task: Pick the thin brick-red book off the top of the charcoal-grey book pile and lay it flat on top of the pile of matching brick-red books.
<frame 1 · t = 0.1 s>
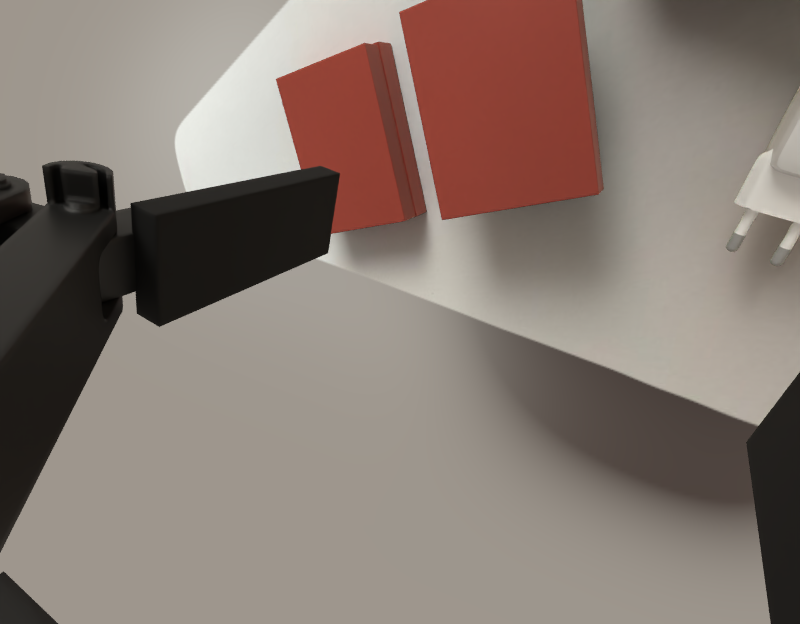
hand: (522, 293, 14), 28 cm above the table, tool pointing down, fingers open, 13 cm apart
red books: (364, 143, 46), on the table
thin red book: (505, 100, 34), point 5 cm above the table, touching grey books
power adapter: (793, 162, 32), on the table
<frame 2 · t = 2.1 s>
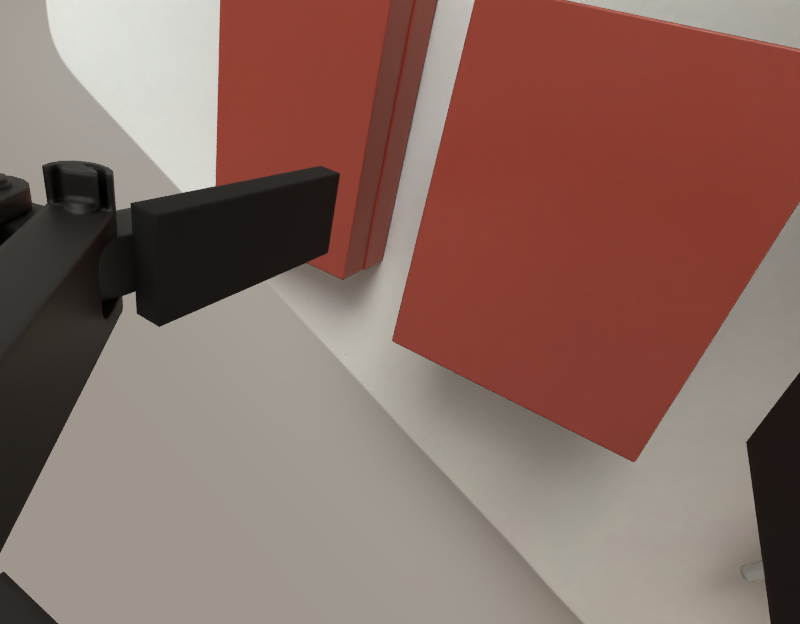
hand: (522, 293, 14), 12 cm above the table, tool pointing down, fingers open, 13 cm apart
red books: (334, 116, 28), on the table
thin red book: (575, 232, 19), point 5 cm above the table, touching grey books
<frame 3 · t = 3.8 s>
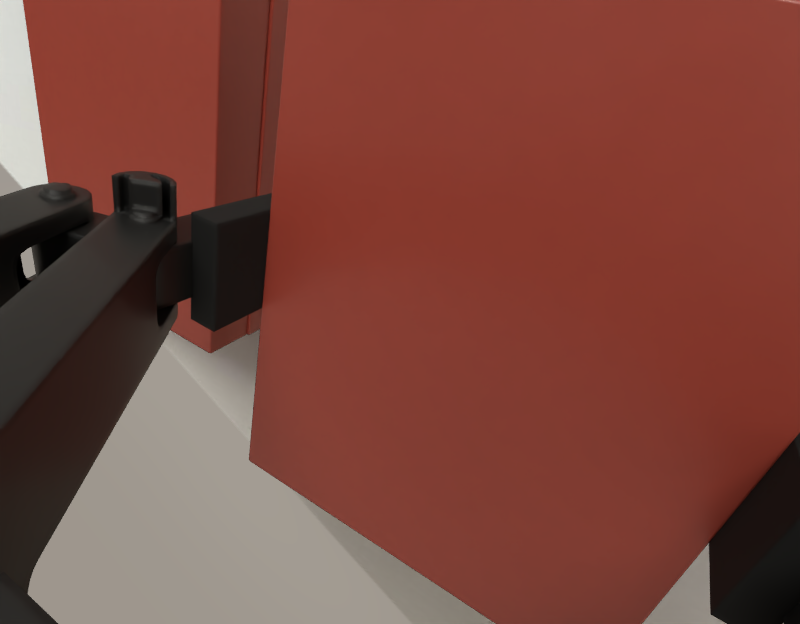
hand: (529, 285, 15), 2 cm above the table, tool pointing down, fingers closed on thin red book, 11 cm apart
red books: (206, 131, 21), on the table
thin red book: (496, 323, 12), point 5 cm above the table, touching grey books, gripper
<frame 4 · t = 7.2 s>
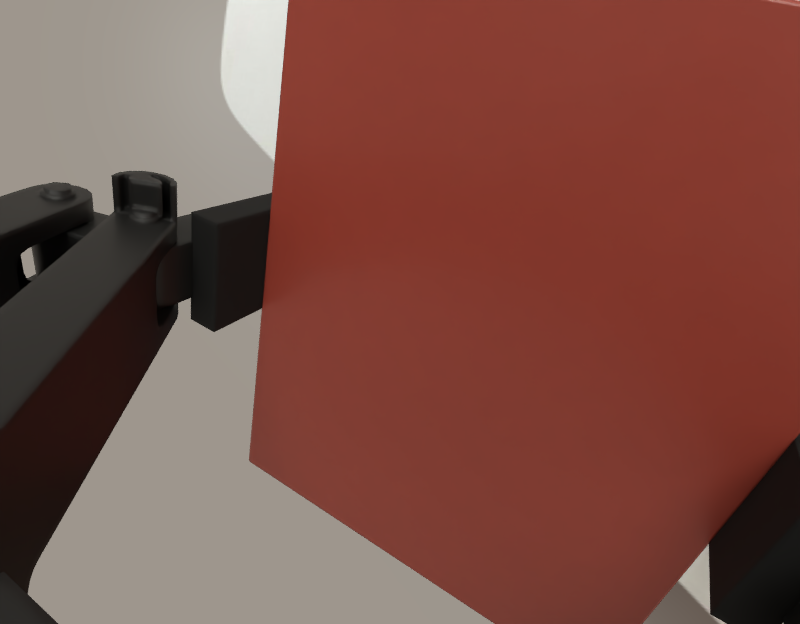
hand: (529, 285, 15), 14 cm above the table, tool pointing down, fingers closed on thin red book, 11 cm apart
thin red book: (496, 324, 12), point 17 cm above the table, touching gripper
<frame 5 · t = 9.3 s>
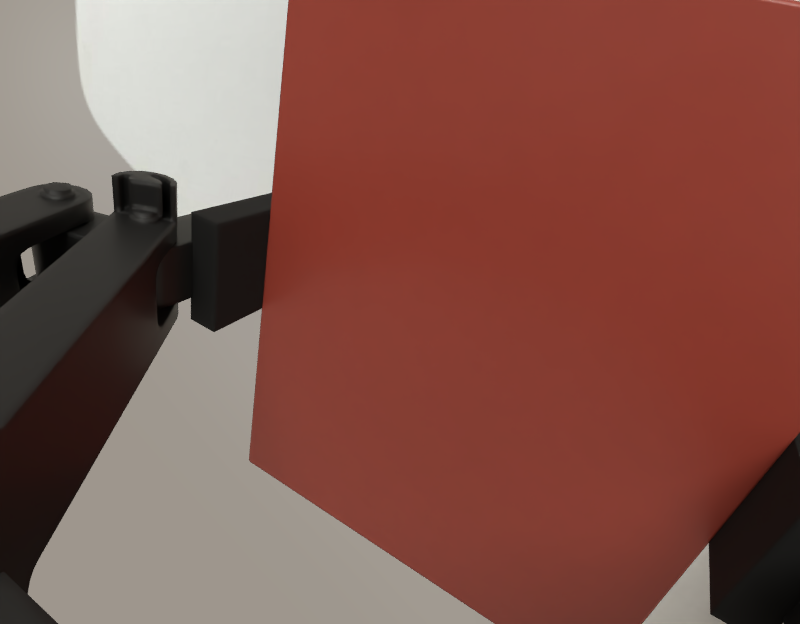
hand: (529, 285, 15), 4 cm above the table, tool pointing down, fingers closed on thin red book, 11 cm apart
thin red book: (496, 324, 12), point 7 cm above the table, touching gripper
when the fingers open (1 cm above the table, at t = 10.8 s): thin red book stays where it is, resting on red books.
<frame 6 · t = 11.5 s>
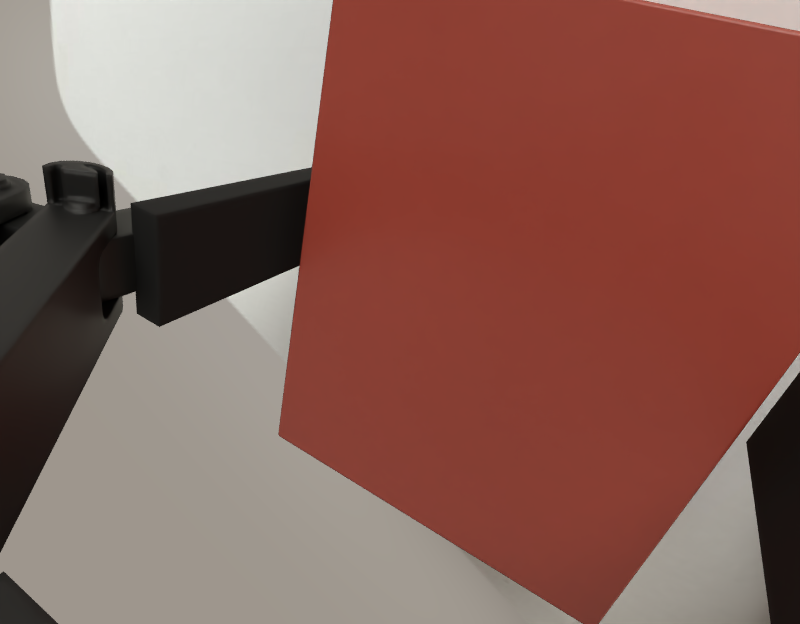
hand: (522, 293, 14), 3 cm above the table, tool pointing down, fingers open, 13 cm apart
thin red book: (509, 304, 14), point 4 cm above the table, touching red books
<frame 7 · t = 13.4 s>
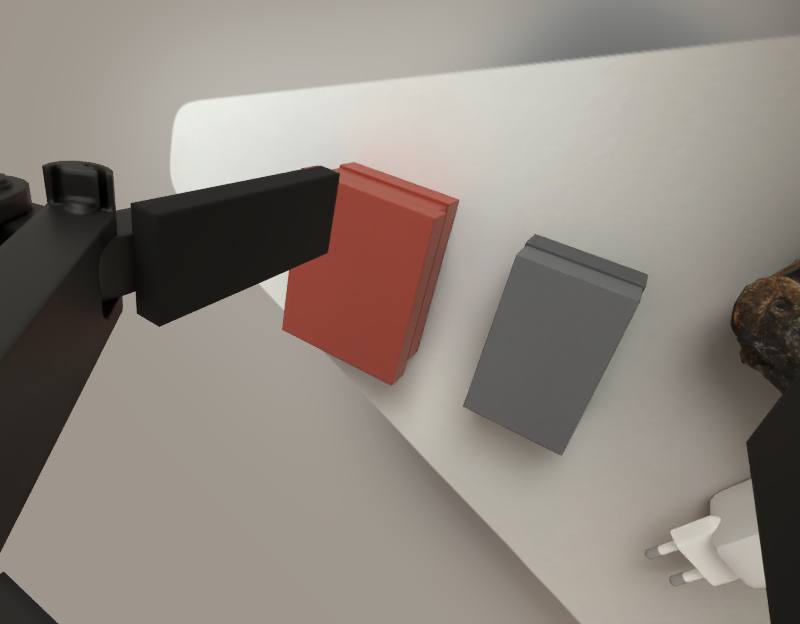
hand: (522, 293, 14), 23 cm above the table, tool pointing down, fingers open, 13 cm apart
red books: (386, 260, 43), on the table, touching thin red book
grey books: (556, 331, 38), on the table
thin red book: (362, 274, 40), point 4 cm above the table, touching red books
power adapter: (727, 509, 37), on the table
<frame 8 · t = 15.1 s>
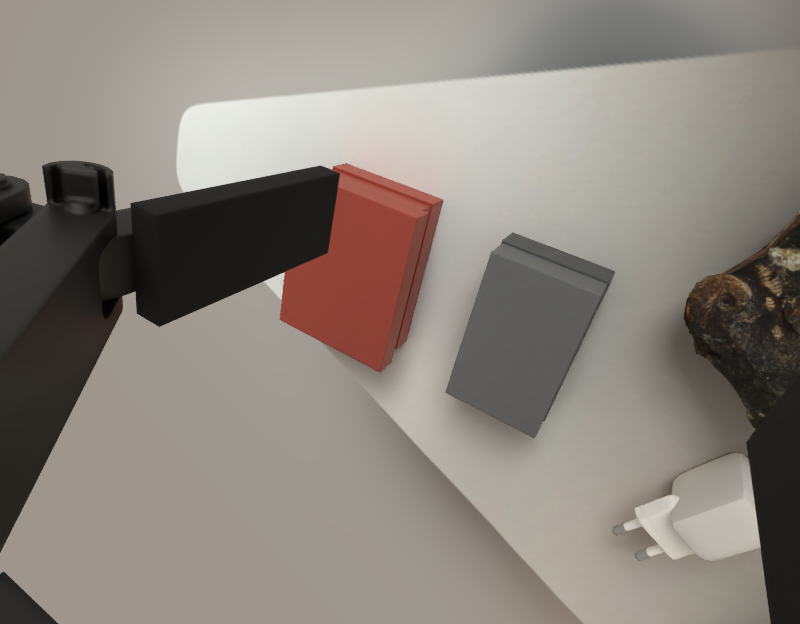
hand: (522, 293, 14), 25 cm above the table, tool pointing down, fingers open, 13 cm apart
red books: (377, 255, 46), on the table, touching thin red book
grey books: (532, 323, 41), on the table
thin red book: (353, 268, 43), point 4 cm above the table, touching red books
power adapter: (689, 490, 40), on the table
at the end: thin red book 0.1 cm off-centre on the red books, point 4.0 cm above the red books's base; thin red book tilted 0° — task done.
